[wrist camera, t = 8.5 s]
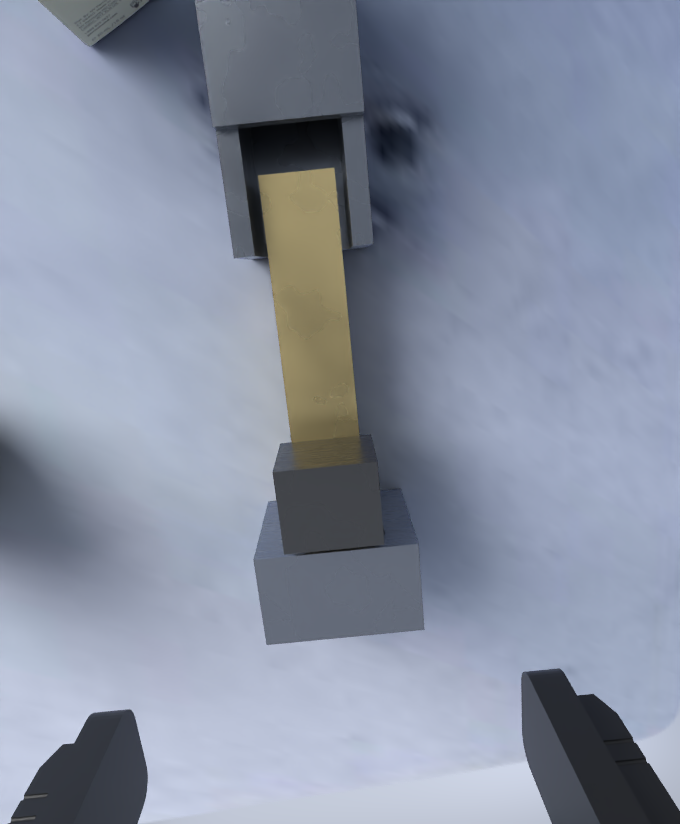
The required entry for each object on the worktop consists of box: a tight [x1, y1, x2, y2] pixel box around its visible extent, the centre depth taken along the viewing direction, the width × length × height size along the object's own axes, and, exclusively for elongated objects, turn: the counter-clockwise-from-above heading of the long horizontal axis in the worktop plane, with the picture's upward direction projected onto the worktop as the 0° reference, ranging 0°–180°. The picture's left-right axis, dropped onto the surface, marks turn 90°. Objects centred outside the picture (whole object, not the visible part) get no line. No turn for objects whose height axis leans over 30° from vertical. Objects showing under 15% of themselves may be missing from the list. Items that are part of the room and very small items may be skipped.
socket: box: [254, 489, 424, 645], centre depth 27 cm, size 4×7×6 cm, turn 96°
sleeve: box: [195, 0, 374, 259], centre depth 22 cm, size 10×5×6 cm, turn 6°
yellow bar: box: [258, 168, 384, 555], centre depth 24 cm, size 18×4×6 cm, turn 6°
